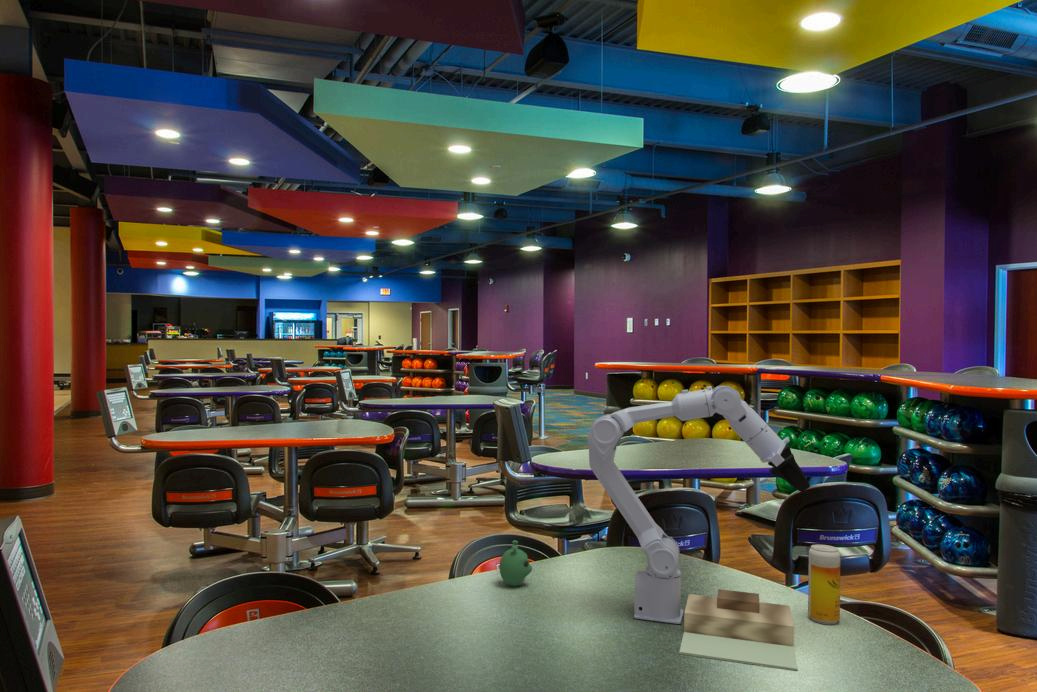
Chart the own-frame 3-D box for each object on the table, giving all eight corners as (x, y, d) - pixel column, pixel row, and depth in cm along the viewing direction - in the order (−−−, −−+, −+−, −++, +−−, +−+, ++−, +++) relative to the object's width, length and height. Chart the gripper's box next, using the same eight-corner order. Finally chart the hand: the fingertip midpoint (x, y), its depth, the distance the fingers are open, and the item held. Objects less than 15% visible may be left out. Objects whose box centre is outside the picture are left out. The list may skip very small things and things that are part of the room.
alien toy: (532, 590, 162) (532, 546, 162) (498, 589, 162) (499, 546, 162) (531, 581, 169) (532, 539, 169) (499, 580, 169) (500, 538, 169)
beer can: (843, 626, 143) (843, 552, 143) (811, 623, 144) (812, 550, 144) (835, 616, 149) (836, 545, 149) (805, 613, 150) (806, 543, 150)
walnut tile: (717, 608, 141) (717, 598, 141) (718, 598, 146) (718, 589, 146) (759, 613, 138) (759, 603, 138) (758, 603, 144) (758, 593, 144)
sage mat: (679, 654, 128) (679, 651, 128) (683, 634, 137) (683, 632, 137) (797, 671, 121) (797, 668, 121) (793, 648, 131) (793, 646, 131)
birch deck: (684, 633, 138) (684, 612, 138) (688, 612, 149) (689, 593, 149) (793, 647, 131) (793, 626, 132) (789, 625, 143) (789, 605, 143)
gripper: (773, 425, 135) (824, 480, 133) (770, 416, 149) (816, 466, 147) (745, 448, 137) (795, 503, 135) (744, 438, 151) (789, 487, 148)
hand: (804, 485), depth 141 cm, fingers open, 7 cm apart
